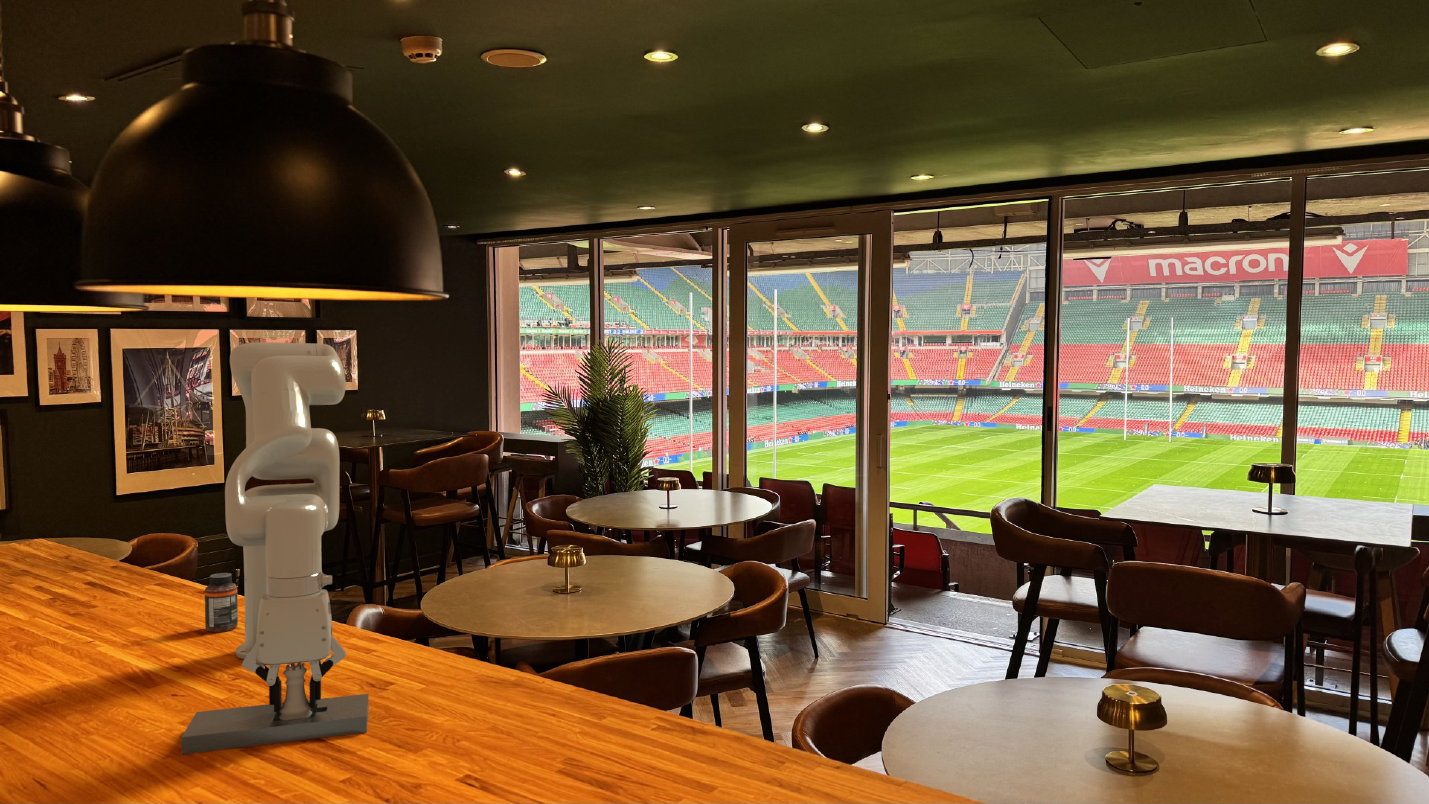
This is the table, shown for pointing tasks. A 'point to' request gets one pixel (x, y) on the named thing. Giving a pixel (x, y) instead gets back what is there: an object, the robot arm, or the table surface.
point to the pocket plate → (274, 724)
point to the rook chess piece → (295, 694)
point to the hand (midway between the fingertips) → (295, 705)
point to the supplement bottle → (221, 603)
